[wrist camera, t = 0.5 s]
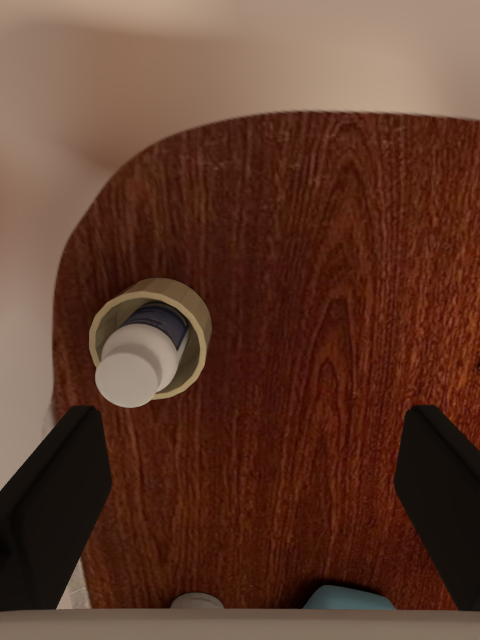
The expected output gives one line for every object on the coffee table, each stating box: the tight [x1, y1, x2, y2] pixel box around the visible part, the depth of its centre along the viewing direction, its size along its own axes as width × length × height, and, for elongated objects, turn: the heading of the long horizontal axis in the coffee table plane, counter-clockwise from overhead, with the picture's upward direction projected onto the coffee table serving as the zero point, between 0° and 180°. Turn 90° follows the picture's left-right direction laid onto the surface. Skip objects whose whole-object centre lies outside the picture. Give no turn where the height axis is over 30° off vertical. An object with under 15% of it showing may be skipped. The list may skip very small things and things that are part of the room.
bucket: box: [89, 278, 212, 400], centre depth 29 cm, size 9×9×5 cm
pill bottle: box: [95, 300, 191, 408], centre depth 26 cm, size 5×5×10 cm
